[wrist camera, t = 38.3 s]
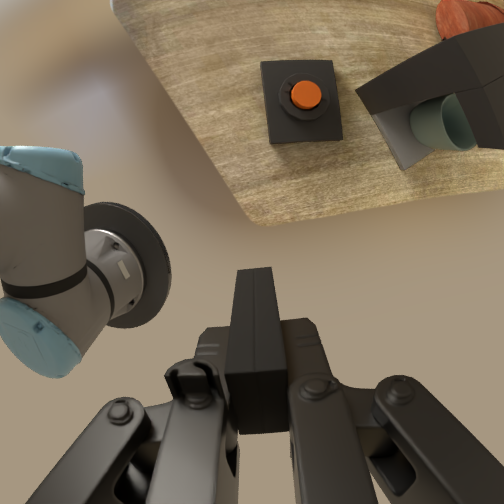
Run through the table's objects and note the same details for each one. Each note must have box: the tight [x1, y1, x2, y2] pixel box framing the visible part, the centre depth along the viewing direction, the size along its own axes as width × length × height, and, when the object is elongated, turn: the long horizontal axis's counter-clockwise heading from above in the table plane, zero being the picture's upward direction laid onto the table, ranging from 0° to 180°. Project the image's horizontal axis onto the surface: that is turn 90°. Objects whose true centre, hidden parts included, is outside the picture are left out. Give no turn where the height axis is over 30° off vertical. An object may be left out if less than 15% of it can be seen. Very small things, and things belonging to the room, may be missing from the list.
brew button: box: [291, 81, 321, 109], centre depth 31 cm, size 4×4×2 cm
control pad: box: [260, 60, 343, 144], centre depth 33 cm, size 10×12×4 cm
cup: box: [409, 93, 477, 151], centre depth 29 cm, size 8×8×10 cm
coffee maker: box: [355, 22, 504, 170], centre depth 23 cm, size 14×14×24 cm
